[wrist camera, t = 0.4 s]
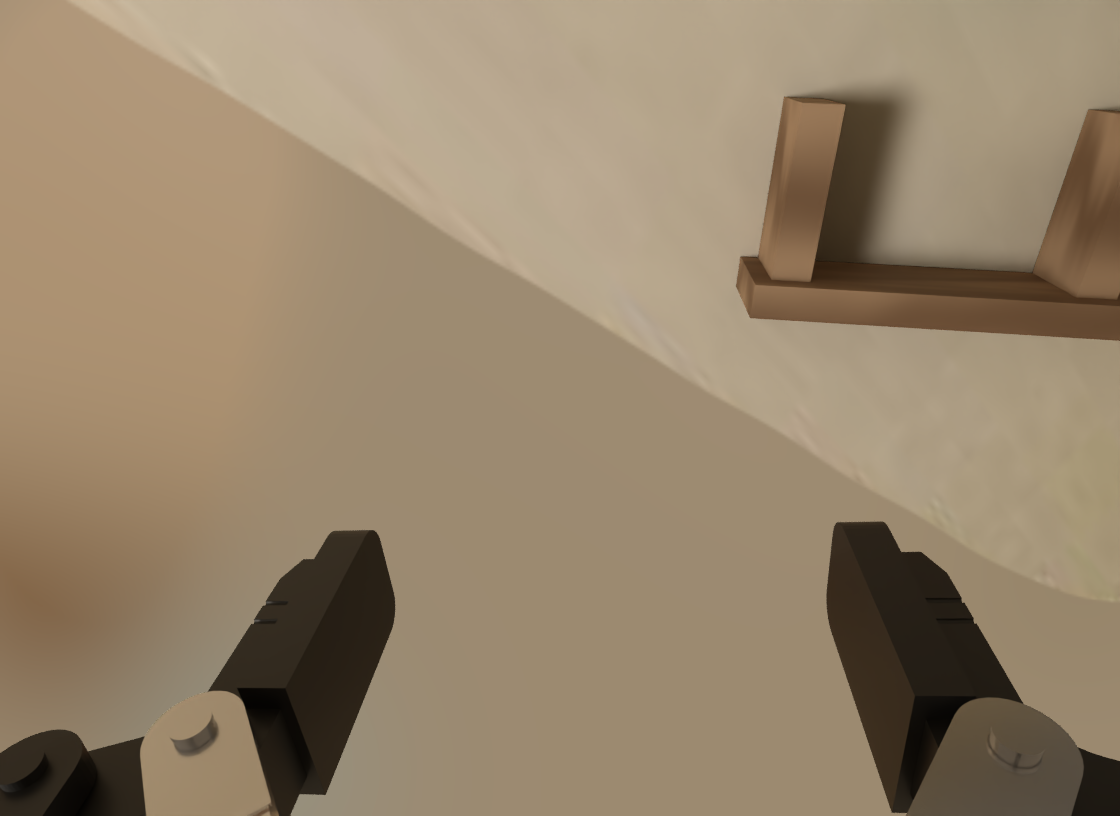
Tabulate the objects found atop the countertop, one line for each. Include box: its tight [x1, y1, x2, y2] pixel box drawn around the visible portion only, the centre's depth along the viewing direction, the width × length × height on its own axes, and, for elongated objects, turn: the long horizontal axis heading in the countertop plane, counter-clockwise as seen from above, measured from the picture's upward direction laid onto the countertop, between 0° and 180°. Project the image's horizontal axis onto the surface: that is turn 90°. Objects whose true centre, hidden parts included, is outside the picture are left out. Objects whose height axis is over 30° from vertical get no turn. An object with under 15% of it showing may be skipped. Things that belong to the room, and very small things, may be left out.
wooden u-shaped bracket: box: [736, 97, 1120, 341], centre depth 33 cm, size 9×17×5 cm, turn 88°
